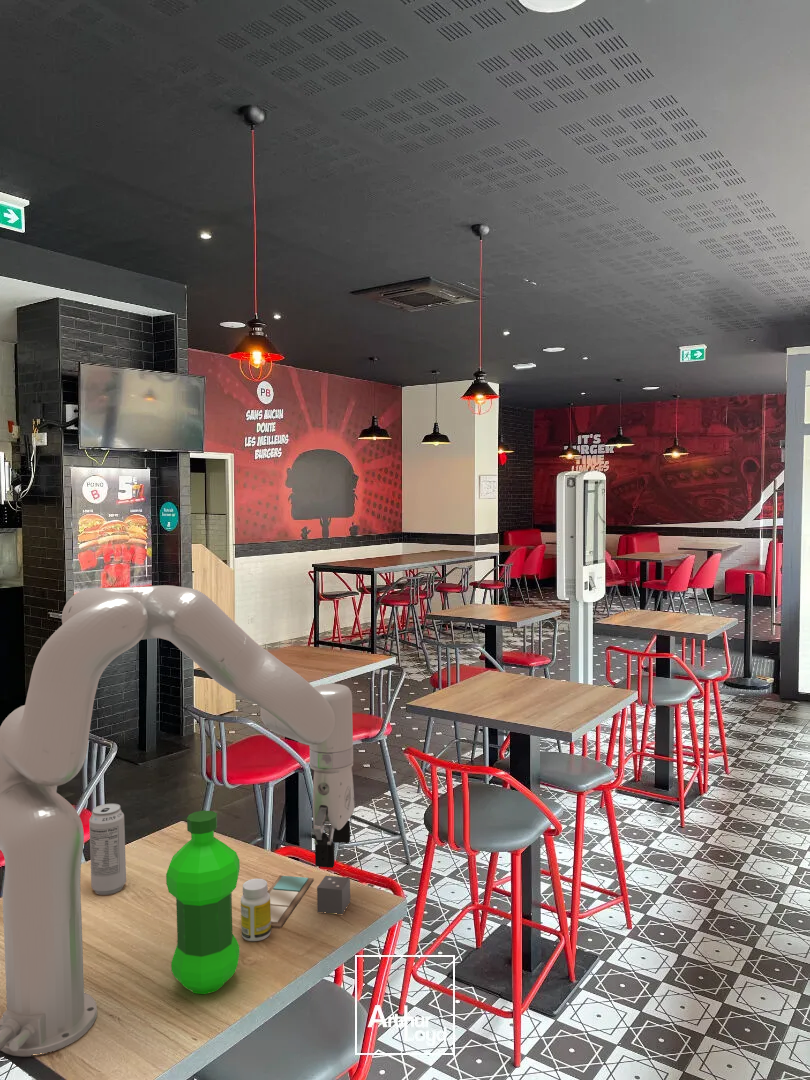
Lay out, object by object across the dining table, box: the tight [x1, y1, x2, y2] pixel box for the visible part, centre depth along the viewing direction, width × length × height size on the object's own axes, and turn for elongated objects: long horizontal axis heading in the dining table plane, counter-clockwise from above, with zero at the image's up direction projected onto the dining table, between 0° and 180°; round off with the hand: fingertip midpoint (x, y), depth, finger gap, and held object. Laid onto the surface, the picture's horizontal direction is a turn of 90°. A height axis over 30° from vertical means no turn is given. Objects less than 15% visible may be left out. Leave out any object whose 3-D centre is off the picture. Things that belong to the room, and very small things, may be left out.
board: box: [268, 875, 315, 929], centre depth 141 cm, size 17×7×1 cm, turn 168°
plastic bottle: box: [165, 809, 241, 995], centre depth 116 cm, size 10×10×25 cm
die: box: [316, 875, 351, 915], centre depth 139 cm, size 4×4×5 cm
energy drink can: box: [88, 803, 127, 896], centre depth 147 cm, size 6×6×15 cm
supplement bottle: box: [240, 878, 272, 942], centre depth 130 cm, size 5×5×8 cm
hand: (333, 853), depth 139 cm, fingers open, 9 cm apart
